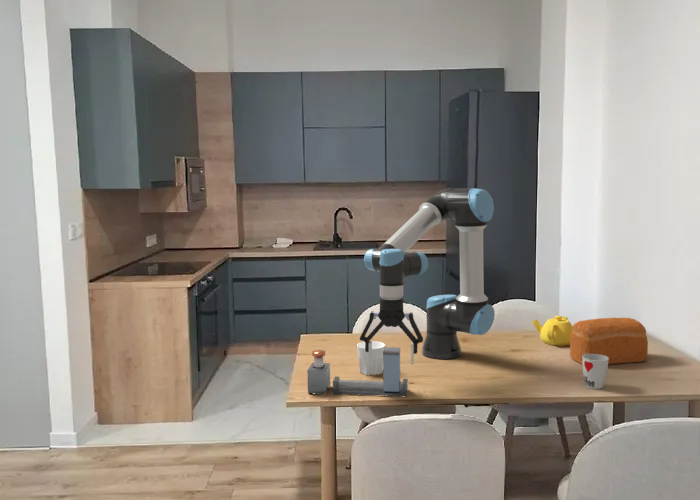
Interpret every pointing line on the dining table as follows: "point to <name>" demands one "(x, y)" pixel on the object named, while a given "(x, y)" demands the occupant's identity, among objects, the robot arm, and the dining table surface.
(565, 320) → the teapot
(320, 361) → the plunger
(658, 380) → the dining table surface
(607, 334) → the bread
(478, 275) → the robot arm
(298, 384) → the dining table surface
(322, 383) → the gauge cabinet
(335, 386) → the rail
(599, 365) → the cup
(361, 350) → the cup
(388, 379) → the grey rectangular block
